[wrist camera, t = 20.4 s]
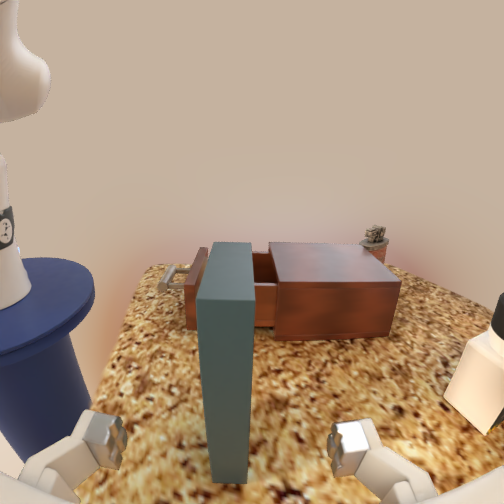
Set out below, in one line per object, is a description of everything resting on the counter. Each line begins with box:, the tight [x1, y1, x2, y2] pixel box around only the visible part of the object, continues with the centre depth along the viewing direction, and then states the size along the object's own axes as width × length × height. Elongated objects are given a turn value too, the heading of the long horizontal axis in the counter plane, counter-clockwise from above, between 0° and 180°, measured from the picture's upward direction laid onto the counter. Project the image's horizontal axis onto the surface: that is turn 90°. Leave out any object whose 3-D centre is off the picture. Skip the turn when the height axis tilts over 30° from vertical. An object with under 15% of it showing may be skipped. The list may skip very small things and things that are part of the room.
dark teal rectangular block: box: [196, 242, 256, 484], centre depth 18 cm, size 2×8×15 cm, turn 1°
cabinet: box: [268, 242, 402, 341], centre depth 41 cm, size 15×15×8 cm
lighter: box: [359, 225, 389, 265], centre depth 50 cm, size 8×3×10 cm, turn 131°
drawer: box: [157, 247, 278, 330], centre depth 40 cm, size 18×13×6 cm
